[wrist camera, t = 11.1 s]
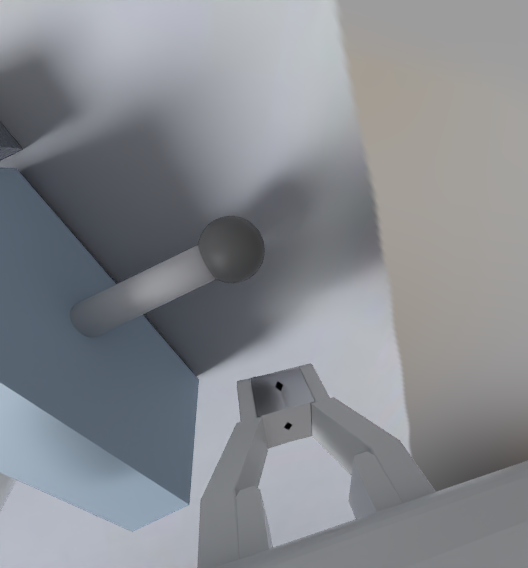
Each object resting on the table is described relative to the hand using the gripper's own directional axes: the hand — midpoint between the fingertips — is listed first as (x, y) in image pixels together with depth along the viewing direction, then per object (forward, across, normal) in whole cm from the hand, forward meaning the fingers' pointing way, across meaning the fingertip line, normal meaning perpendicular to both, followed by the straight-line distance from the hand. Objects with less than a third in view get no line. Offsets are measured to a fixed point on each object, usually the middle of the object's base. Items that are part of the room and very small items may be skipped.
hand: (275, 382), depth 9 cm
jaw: (+5, +4, -3) cm, 7 cm away
